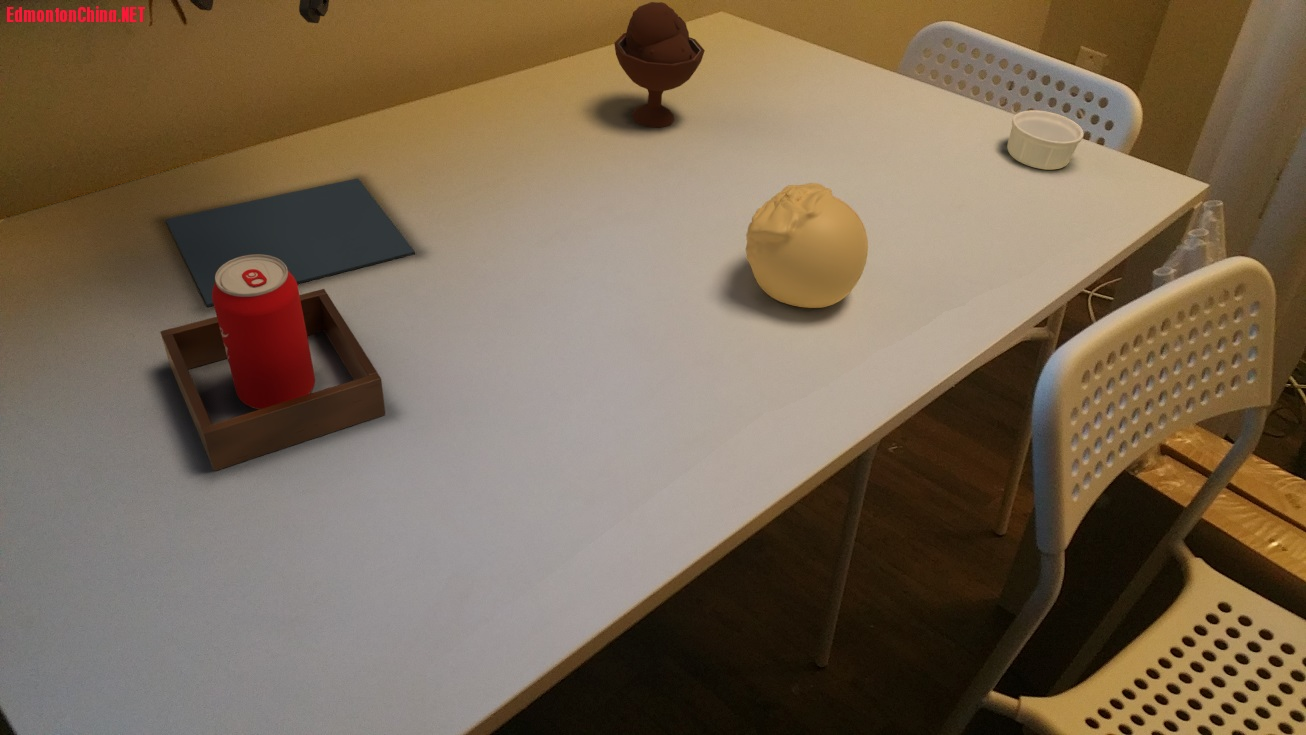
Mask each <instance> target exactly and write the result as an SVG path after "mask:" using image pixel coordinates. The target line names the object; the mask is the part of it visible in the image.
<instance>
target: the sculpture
mask: <svg viewBox="0 0 1306 735" xmlns="http://www.w3.org/2000/svg"><path fill="white" fill-rule="evenodd" d="M745 253H746V261H747V262H748V263H749V265H750V268H751V271H752V275H753V277H754V279H755V281H756V283H757V284H758V286H759V287H760V288H761V289H762V290H763V292H764V293H765V294H767V295H768V296H769V297H770V298H772V299H773V300H775V301H778V302H780V303H783V304H786V305H790V306H794V307H799V308H806V309H807V308H808V309H818V308H819V309H821V308H827V307H830V306H833V305H835V304H837V303H839V302H841V301H842V300H843V299H845V298H846V297H847V296H848V295H849V294H850V293H851V292H852V290H854V288H855V287H856V285H857V284H858V283H859V281H860V279H861V277H862V275H863V273H864V270H865V268H866V265H867V261H868V260H867V259H868V253H869V241H868V235H867V231H866V227H865V225H864V222H863V220H862V219H861V218H860V216H859V214H858V213H857V212H856V210H855V209H853V207H851V206H850V205H849V204H848V203H847V202H845V201H844V200H842V199H840V198H838V197H836V196H834V195H833V190H832V189H831V188H829V187H825V186H824V185H822V184H821V183H818V182H810V183H809V182H808V183H804V184H788V185H786V186H785V187H784V188H783V189H782V190H781V191H779V192H778V193H776V194H775V195H774V196H772V197H771V199H769V200H767V201H765V203H764V204H763V205H762V206H761V207H759V208H757V209H756V211H755V213H754V214H753V216H752V218H751V222H749V224H748V227H747V232H746V246H745Z"/></svg>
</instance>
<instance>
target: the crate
mask: <svg viewBox="0 0 1306 735" xmlns="http://www.w3.org/2000/svg"><path fill="white" fill-rule="evenodd" d="M299 295H300V301H301V306H302V311H303V317H304V322H305V327H306V333H307V337H308V336H311V335H315V334H318V333H322V332H324V334H325V335H326V337H327V338H328V340H329V342H330V343H331V345H332V347H333V348H334V350H335V351H336V353H337V355H338V356H339V358H340V360H341V361H342V363H343V364H344V366H345V368H346V370H347V371H348V373H349V374H350V376H351V378H352V380H351V381H348V382H344V383H341V384H338V385H334V386H331V387H328V388H325V389H321V390H318V391H315V392H311V393H309V394H308V395H305V396H302V397H299V398H295V399H292V400H289V401H286V402H282V403H279V404H276V405H273V406H269V407H266V408H263V409H257V410H254V411H250V412H247V413H243V414H240V415H237V416H234V417H231V418H227V419H224V420H221V421H217V422H214V423H212V421H211V419H210V416H209V414H208V412H207V410H206V407H205V404H204V403H203V400H202V398H201V396H200V394H199V392H198V389H197V387H196V384H195V382H194V380H193V377H192V375H191V373H190V371H189V370H191V369H194V368H197V367H202V366H204V365H208V364H212V363H216V362H218V361H222V360H226V359H228V358H227V354H226V350H225V346H224V343H223V339H222V335H221V331H220V327H219V323H218V319H217V316H214V317H210V318H206V319H202V320H199V321H195V322H191V323H187V324H183V325H179V326H175V327H172V328H167V329H164V330H161V331H160V336H161V340H162V342H163V346H164V349H165V352H166V357H167V359H168V363H169V366H170V369H171V371H172V374H173V376H174V378H175V381H176V383H177V386H178V388H179V390H180V393H181V396H182V398H183V400H184V403H185V405H186V407H187V409H188V412H189V414H190V417H191V419H192V421H193V424H194V426H195V429H196V431H197V434H198V436H199V438H200V440H201V443H202V445H203V448H204V450H205V453H206V455H207V458H208V460H209V462H210V465H211V467H212V469H213V471H214V472H216V471H220V470H222V469H225V468H228V467H232V466H234V465H237V464H240V463H243V462H247V461H250V460H252V459H256V458H257V457H261V456H264V455H268V454H271V453H273V452H276V451H279V450H282V449H286V448H289V447H291V446H295V445H298V444H300V443H303V442H306V441H310V440H312V439H316V438H319V437H322V436H325V435H329V434H331V433H334V432H338V431H340V430H343V429H346V428H350V427H352V426H355V425H359V424H361V423H365V422H367V421H368V422H369V421H370V420H373V419H377V418H379V417H382V416H385V415H386V408H385V407H386V406H385V399H384V398H385V397H384V391H383V390H384V389H383V381H382V377H381V376H380V374H379V373H378V371H377V370H376V368H375V366H374V365H373V363H372V362H371V360H370V358H369V356H367V354H366V352H365V351H364V349H363V347H362V346H361V344H360V342H359V341H358V339H357V338H356V336H355V335H354V333H353V332H352V330H351V329H350V327H349V325H348V324H347V322H346V321H345V319H344V317H343V316H342V314H341V313H340V311H339V310H338V308H337V307H336V305H335V303H334V302H333V300H332V299H331V297H330V295H329V294H328V292H327V291H326V290H325V288H322V289H321V288H320V289H317V290H313V291H309V292H306V293H305V292H304V293H301V294H299Z"/></svg>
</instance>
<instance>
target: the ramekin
mask: <svg viewBox="0 0 1306 735" xmlns="http://www.w3.org/2000/svg"><path fill="white" fill-rule="evenodd" d="M1084 134H1085V133H1084V130H1083V128H1082V127H1081V126H1080V125H1079V124H1078V123H1077V122H1075V121H1074V120H1072V119H1070V118H1069V117H1066V116H1063V115H1062V114H1058V113H1055V112H1051V111H1046V110H1038V109H1037V110H1034V109H1032V110H1031V109H1030V110H1023V111H1019V112H1017V113H1016V114H1014V115H1013V116H1012V121H1011V129H1010V133H1009V137H1008V141H1007V146H1006V147H1007V151H1008V153H1009V155H1010V157H1012V158H1013V159H1014V160H1015V161H1017V162H1019V163H1020V164H1022V165H1025V166H1028V167H1030V168H1034V169H1039V170H1045V171H1047V170H1049V171H1051V170H1059V169H1062V168H1064V167H1066V166H1067V165H1068V164H1069V163H1070V162H1071V159H1072V157H1073V155H1074V153H1075V151H1076V149H1077V147H1078V146H1079V144H1080V143H1081V142H1082V140H1083V138H1084Z"/></svg>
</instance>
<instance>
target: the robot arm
mask: <svg viewBox="0 0 1306 735" xmlns="http://www.w3.org/2000/svg"><path fill="white" fill-rule="evenodd" d="M189 1H190V3H191V4H193V5H194V6H195V7H196V8H197V9H199V11H201V10H202V11H209V12H210V11H211V10H213V5H214V0H189ZM329 4H330V0H299V5H298V12H299V15H300V16H301V18H302V19H304V20H305V21H306V22H307V23H311V24H319V23H320V19H321V17H325V16H326V14H327V12H328V10H329Z"/></svg>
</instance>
